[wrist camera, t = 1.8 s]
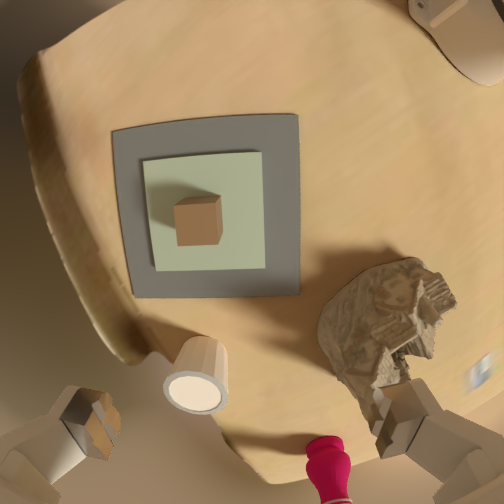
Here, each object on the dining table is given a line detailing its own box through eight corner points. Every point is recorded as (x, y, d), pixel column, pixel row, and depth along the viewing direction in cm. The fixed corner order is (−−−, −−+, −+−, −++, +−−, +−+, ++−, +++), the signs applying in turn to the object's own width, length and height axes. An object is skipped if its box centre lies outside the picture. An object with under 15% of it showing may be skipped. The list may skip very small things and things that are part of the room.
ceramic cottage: (336, 392, 36) (369, 478, 21) (299, 294, 32) (338, 384, 17) (433, 343, 35) (491, 407, 20) (419, 239, 30) (509, 285, 16)
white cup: (212, 322, 32) (203, 362, 26) (243, 364, 34) (240, 405, 28) (165, 343, 33) (149, 382, 27) (197, 380, 35) (188, 420, 29)
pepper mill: (294, 448, 41) (304, 551, 22) (328, 429, 39) (350, 538, 20) (320, 459, 42) (335, 551, 23) (353, 441, 41) (377, 537, 22)
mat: (114, 132, 26) (112, 131, 25) (297, 115, 25) (298, 114, 25) (136, 296, 31) (134, 297, 31) (298, 293, 31) (299, 295, 31)
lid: (146, 161, 26) (125, 163, 22) (261, 152, 26) (262, 151, 21) (158, 268, 30) (143, 288, 25) (265, 265, 30) (266, 286, 25)
